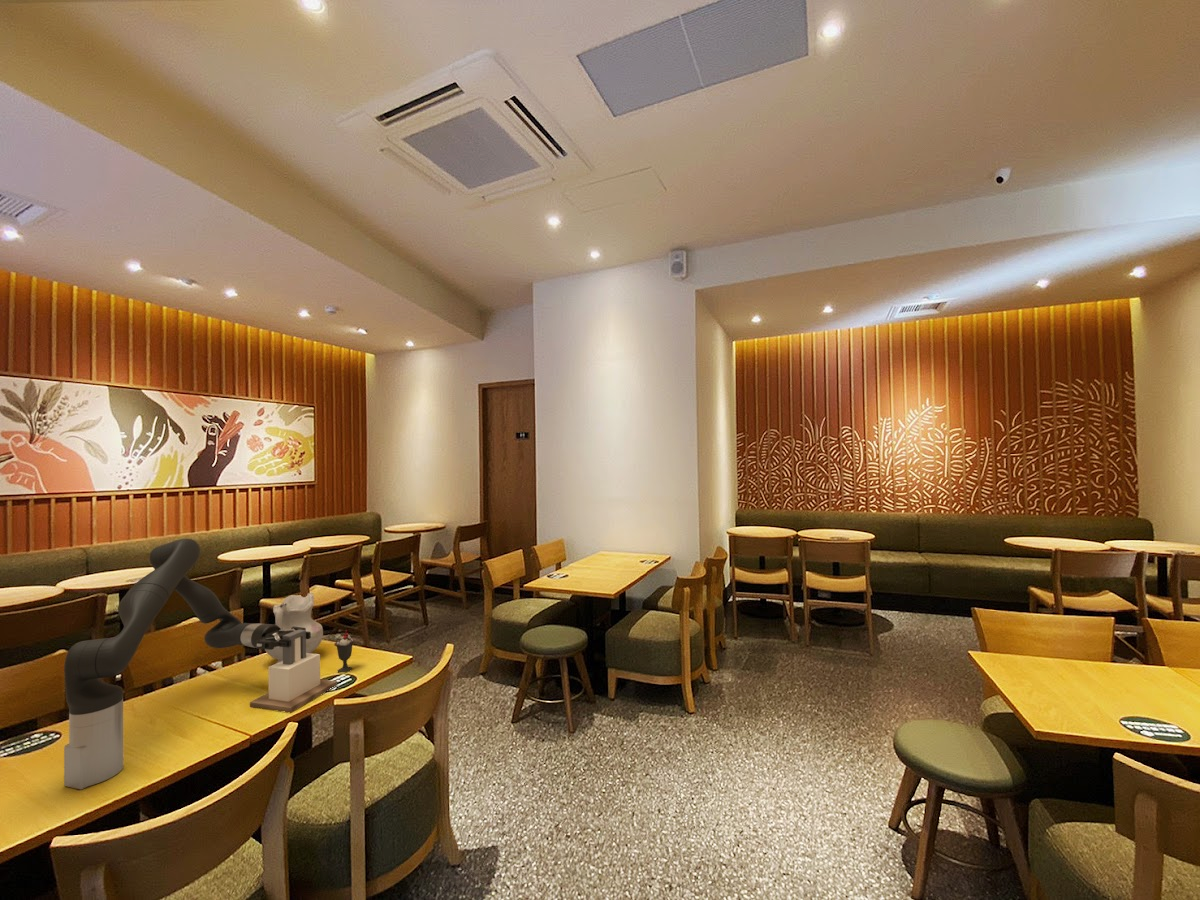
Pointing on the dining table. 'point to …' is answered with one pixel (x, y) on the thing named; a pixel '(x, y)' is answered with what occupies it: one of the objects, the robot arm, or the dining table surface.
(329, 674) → the dining table surface
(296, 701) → the display base
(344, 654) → the sundae
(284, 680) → the white block with post
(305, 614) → the ceramic pitcher
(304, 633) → the gray u-shaped archway
